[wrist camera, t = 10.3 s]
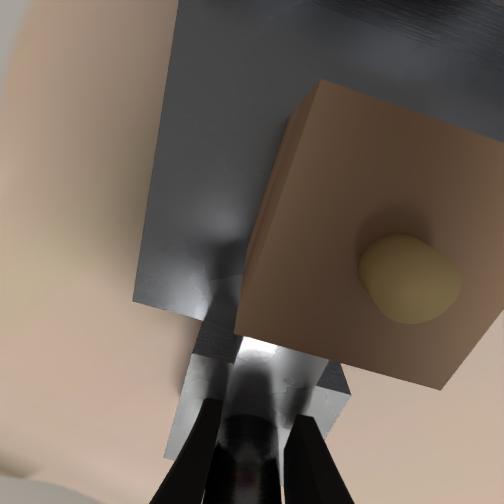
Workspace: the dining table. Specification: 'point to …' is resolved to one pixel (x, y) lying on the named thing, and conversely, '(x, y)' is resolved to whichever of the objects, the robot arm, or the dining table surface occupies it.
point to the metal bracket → (278, 110)
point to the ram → (253, 409)
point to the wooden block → (377, 239)
